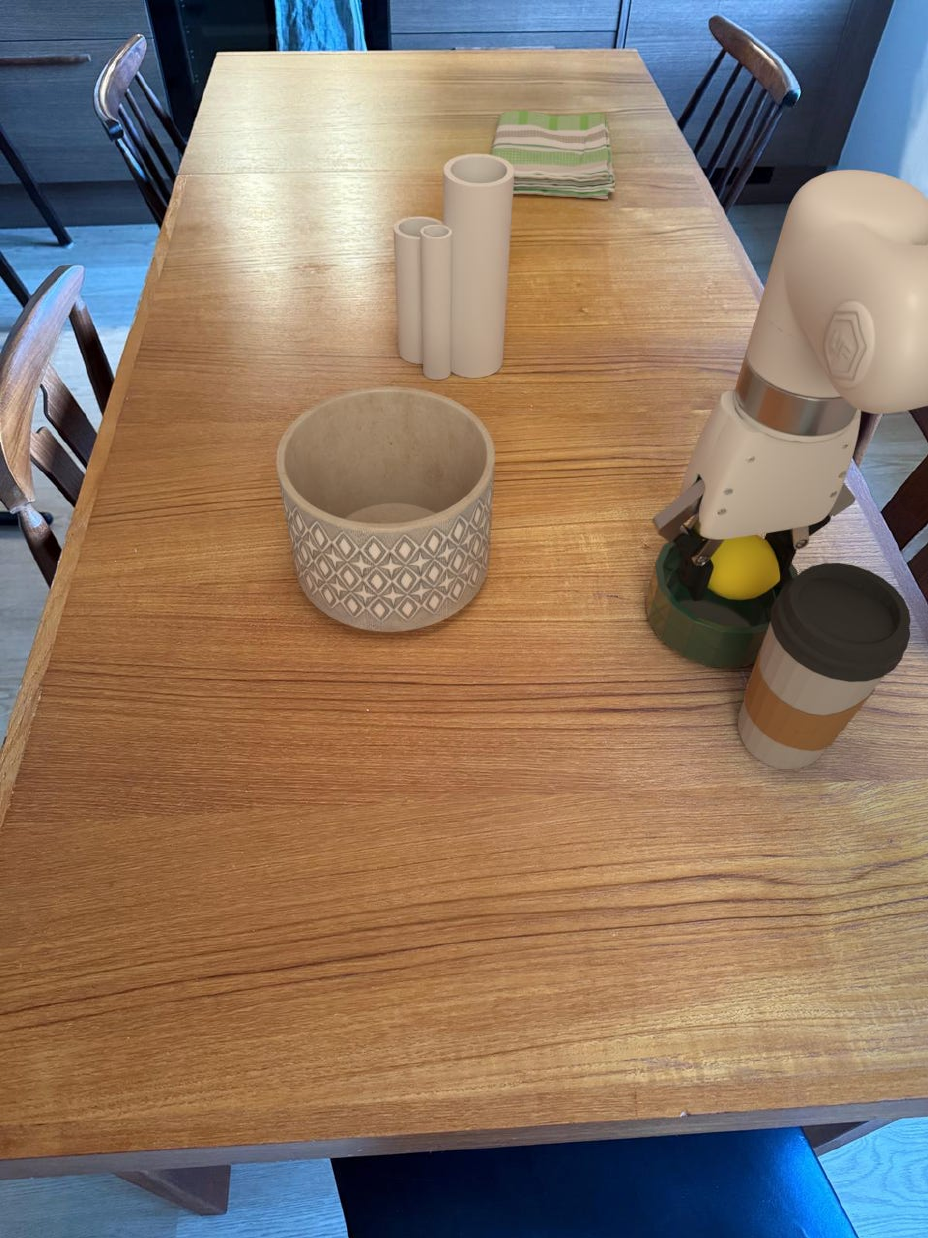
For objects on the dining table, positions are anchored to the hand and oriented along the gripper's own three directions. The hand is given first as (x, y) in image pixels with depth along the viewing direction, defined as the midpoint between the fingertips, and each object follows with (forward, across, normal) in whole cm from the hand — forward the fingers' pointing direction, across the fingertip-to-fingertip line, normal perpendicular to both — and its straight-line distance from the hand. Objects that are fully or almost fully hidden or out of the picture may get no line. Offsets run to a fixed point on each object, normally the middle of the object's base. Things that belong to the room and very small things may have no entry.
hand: (730, 579), depth 70 cm
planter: (+5, +25, -11) cm, 28 cm away
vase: (+5, +14, -40) cm, 42 cm away
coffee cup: (+5, 0, +11) cm, 13 cm away
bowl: (+5, 0, 0) cm, 5 cm away
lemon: (+1, 0, 0) cm, 1 cm away
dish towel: (+4, -11, -84) cm, 85 cm away
